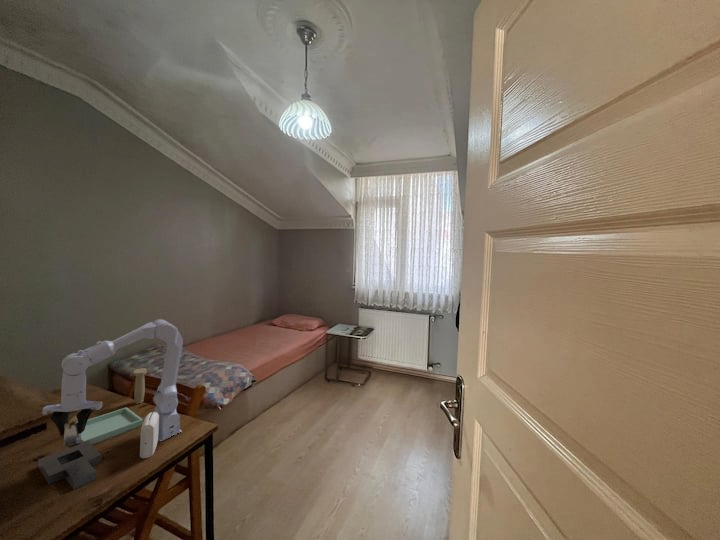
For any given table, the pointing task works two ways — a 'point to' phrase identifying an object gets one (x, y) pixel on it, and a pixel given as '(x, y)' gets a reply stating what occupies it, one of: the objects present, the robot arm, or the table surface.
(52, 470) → the plate
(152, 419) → the photo printer
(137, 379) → the handle
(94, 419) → the tray
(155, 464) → the table surface
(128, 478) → the table surface
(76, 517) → the table surface
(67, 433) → the clear tall piece
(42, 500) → the table surface
